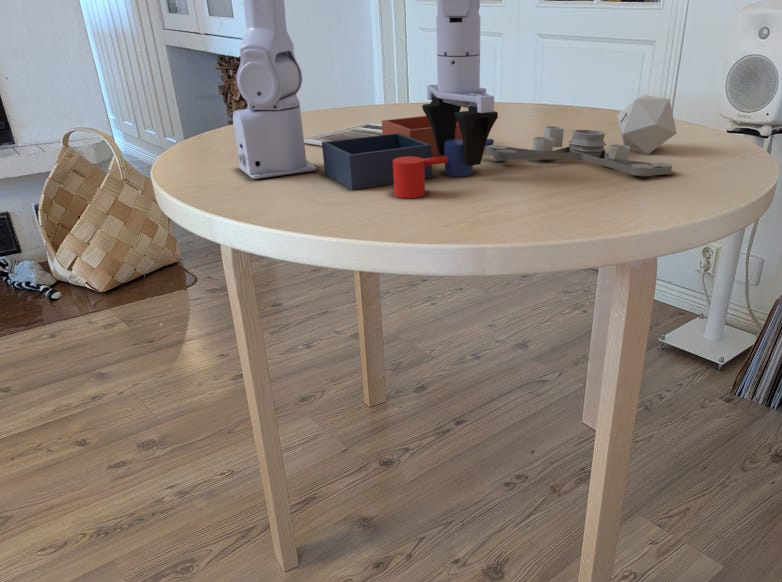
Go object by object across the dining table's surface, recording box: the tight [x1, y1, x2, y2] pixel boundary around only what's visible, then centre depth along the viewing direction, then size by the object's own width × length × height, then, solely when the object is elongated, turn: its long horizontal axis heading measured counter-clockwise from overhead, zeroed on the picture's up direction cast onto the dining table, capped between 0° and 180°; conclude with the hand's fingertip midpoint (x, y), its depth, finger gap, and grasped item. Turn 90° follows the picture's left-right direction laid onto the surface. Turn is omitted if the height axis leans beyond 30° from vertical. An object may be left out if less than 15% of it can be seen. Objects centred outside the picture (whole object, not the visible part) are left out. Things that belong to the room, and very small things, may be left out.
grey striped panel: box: [304, 122, 383, 147], centre depth 118 cm, size 11×1×18 cm
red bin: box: [381, 115, 462, 158], centre depth 108 cm, size 12×10×4 cm
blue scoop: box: [444, 138, 495, 178], centre depth 95 cm, size 8×4×4 cm, turn 120°
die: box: [616, 94, 678, 155], centre depth 105 cm, size 8×9×10 cm
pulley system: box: [486, 125, 673, 177], centre depth 99 cm, size 27×5×15 cm
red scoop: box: [393, 156, 449, 199], centre depth 86 cm, size 8×4×4 cm, turn 120°
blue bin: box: [321, 133, 433, 191], centre depth 93 cm, size 12×10×4 cm
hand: (459, 159), depth 94 cm, fingers open, 7 cm apart
